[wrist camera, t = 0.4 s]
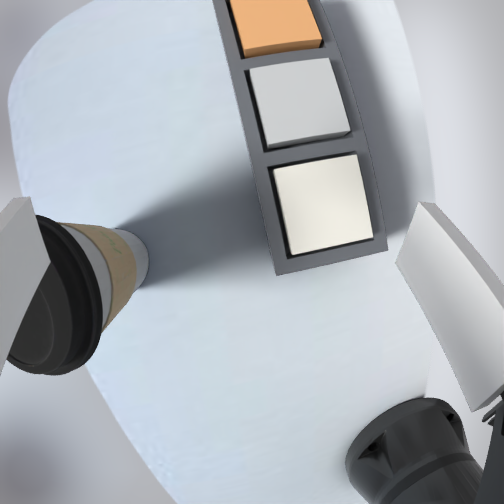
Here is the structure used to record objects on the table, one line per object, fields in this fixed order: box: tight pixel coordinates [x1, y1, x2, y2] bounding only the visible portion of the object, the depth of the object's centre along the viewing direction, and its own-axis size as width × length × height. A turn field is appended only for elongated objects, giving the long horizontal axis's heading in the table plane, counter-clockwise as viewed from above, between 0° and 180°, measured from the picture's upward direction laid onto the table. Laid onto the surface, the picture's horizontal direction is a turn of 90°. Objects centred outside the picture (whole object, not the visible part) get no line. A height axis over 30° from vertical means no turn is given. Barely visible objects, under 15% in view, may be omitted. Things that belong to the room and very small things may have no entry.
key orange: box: [230, 0, 322, 59], centre depth 21 cm, size 6×6×2 cm
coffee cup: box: [6, 215, 149, 375], centre depth 21 cm, size 9×9×15 cm
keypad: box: [212, 0, 388, 276], centre depth 24 cm, size 24×9×4 cm, turn 12°
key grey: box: [250, 58, 350, 149], centre depth 22 cm, size 6×6×2 cm
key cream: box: [273, 155, 373, 255], centre depth 23 cm, size 6×6×2 cm
